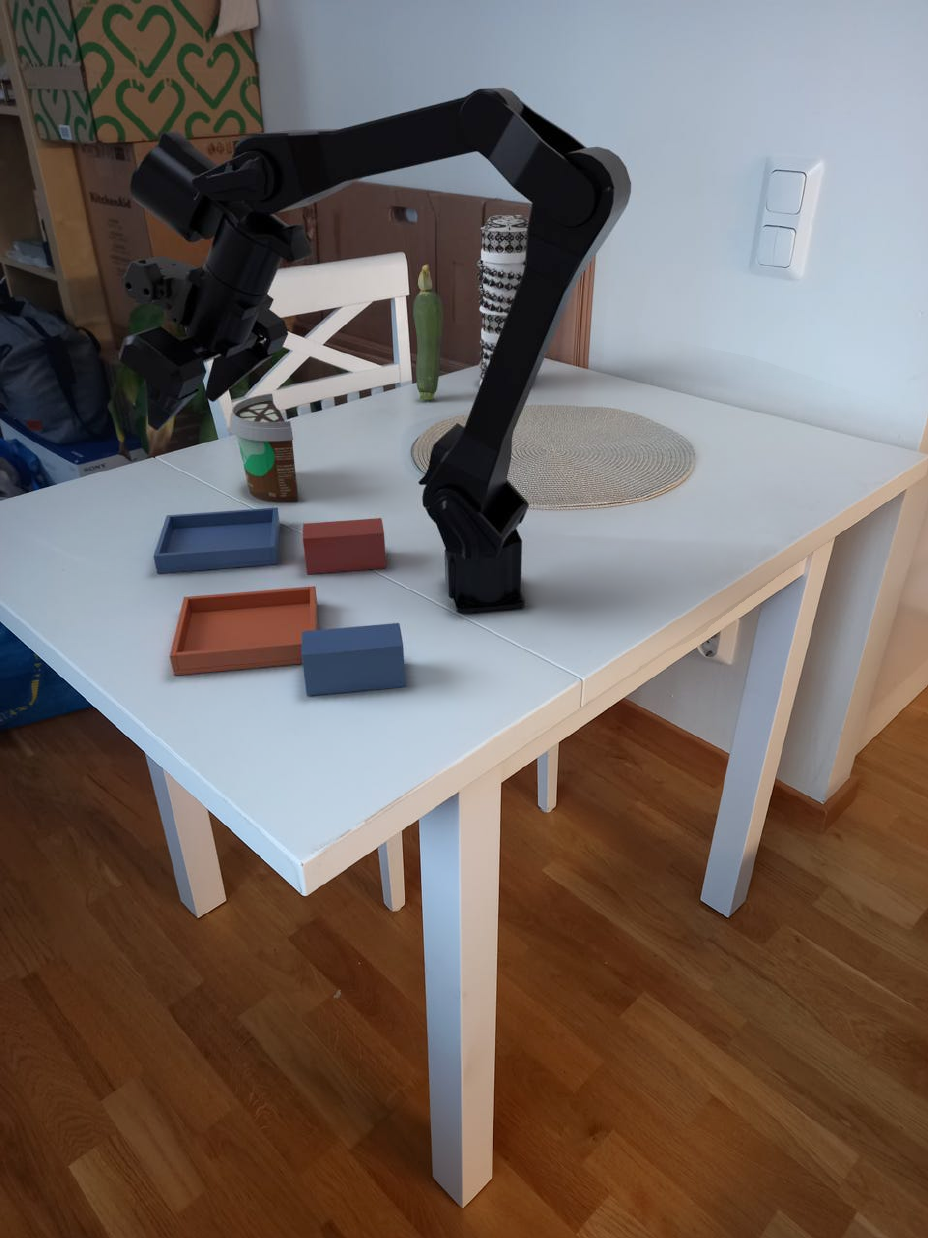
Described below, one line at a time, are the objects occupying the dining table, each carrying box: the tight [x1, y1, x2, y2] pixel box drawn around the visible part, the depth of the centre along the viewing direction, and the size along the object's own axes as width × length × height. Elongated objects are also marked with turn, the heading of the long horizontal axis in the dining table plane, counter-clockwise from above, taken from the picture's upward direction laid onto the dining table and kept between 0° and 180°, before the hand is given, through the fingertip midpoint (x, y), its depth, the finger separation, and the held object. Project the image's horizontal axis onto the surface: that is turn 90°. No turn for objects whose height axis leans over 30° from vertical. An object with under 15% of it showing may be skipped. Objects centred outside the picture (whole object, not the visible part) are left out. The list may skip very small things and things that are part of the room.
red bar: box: [302, 517, 387, 575], centre depth 91 cm, size 8×4×4 cm, turn 99°
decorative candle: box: [476, 214, 529, 386], centre depth 139 cm, size 9×9×25 cm
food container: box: [228, 392, 299, 503], centre depth 106 cm, size 12×6×10 cm, turn 21°
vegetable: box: [412, 264, 444, 402], centre depth 133 cm, size 4×4×20 cm
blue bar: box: [302, 622, 406, 697], centre depth 73 cm, size 8×4×4 cm, turn 99°
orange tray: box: [169, 585, 319, 676], centre depth 79 cm, size 12×10×2 cm
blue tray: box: [153, 507, 281, 574], centre depth 95 cm, size 12×10×2 cm
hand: (182, 412), depth 87 cm, fingers open, 9 cm apart
